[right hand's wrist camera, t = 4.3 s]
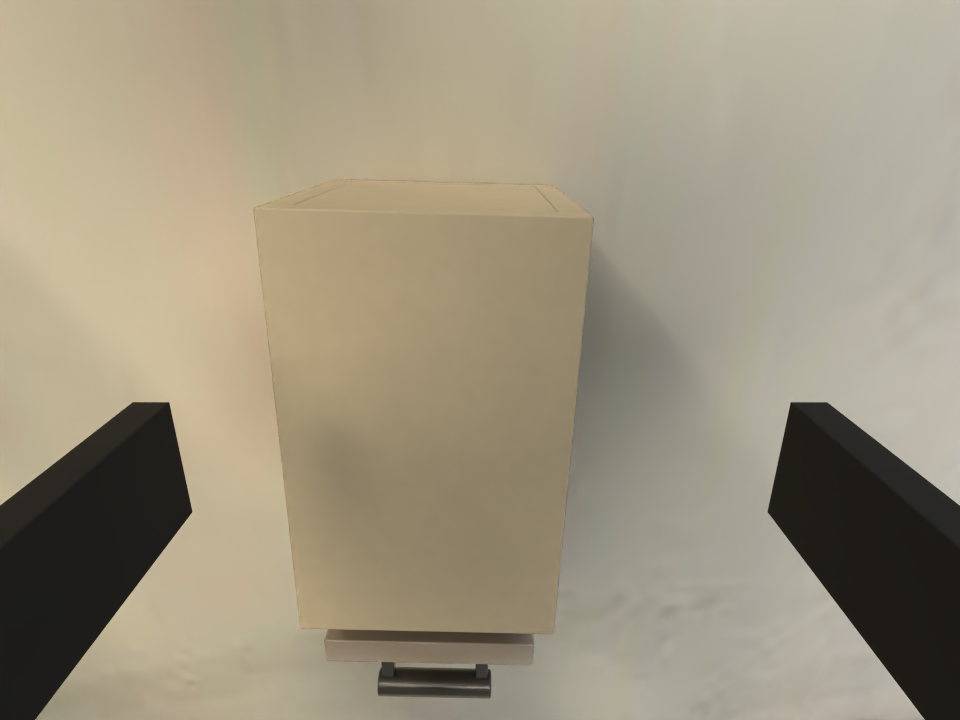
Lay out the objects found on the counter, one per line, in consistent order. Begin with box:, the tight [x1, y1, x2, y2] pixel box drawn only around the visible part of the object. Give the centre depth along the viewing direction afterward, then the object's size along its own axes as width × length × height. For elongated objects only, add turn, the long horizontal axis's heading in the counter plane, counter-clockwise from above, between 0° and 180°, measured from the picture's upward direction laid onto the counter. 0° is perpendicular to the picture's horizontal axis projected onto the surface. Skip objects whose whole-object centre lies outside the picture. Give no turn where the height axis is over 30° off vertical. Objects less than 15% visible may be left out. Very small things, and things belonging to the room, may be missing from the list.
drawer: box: [325, 629, 534, 698], centre depth 27 cm, size 21×9×8 cm, turn 178°
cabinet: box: [253, 179, 594, 634], centre depth 25 cm, size 16×10×10 cm, turn 178°
